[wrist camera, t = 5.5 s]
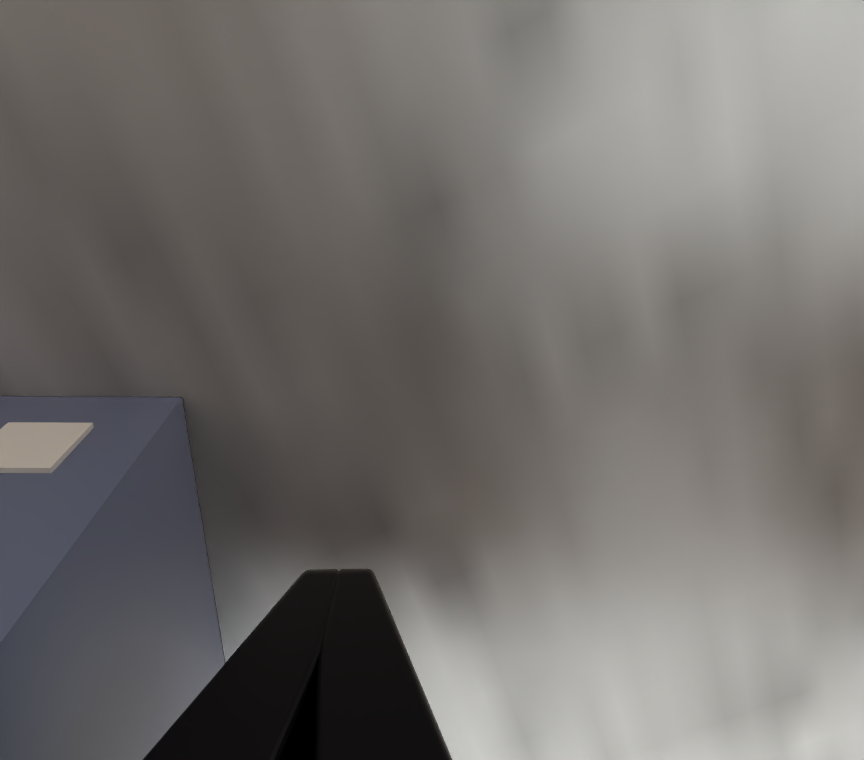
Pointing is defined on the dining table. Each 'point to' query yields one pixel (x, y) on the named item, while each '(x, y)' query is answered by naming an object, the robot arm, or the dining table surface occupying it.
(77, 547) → the die
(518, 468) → the dining table surface
